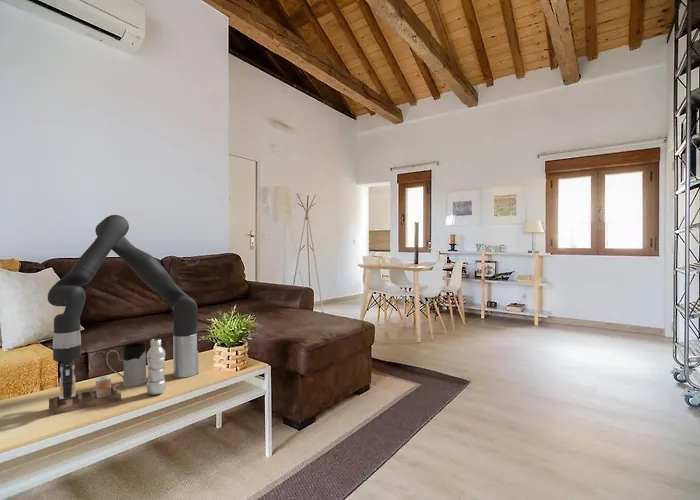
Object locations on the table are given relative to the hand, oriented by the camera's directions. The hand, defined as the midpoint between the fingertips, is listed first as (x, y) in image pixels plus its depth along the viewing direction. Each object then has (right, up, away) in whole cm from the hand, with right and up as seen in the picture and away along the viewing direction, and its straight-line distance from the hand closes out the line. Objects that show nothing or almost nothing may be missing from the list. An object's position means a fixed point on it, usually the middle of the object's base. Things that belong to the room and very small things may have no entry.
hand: (67, 394), depth 123 cm
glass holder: (+6, -5, +23) cm, 24 cm away
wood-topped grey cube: (0, 0, 0) cm, 1 cm away
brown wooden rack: (+4, -5, +3) cm, 7 cm away
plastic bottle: (+23, -5, +13) cm, 27 cm away
